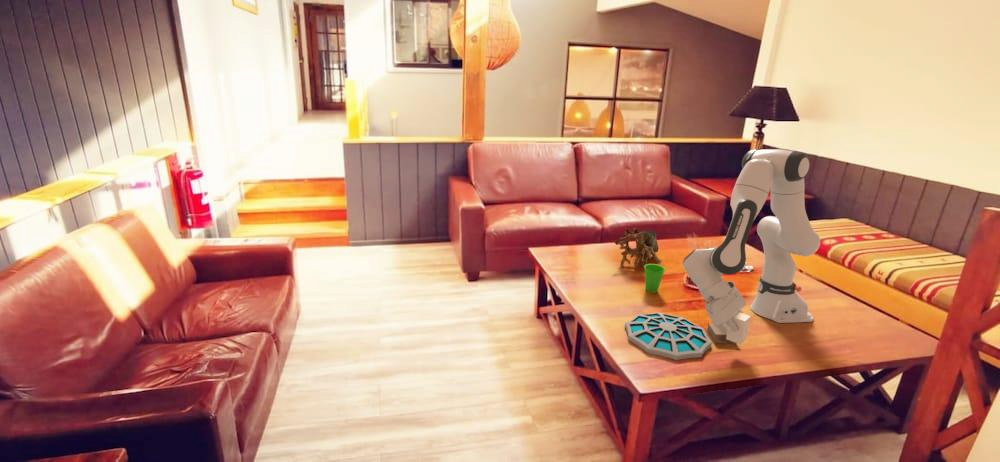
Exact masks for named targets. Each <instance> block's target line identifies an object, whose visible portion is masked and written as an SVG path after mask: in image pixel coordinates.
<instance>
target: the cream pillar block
mask: <svg viewBox="0 0 1000 462" xmlns="http://www.w3.org/2000/svg"><path fill="white" fill-rule="evenodd" d="M751 319H752V318H751V315H749V314H746V313H743V312H742V313H740V312H737V313H736V314H735V315H734V316H733V317H732V318H731V320H732V322H733V323H734V324H735V325H737V326H738V327H739V330H738V331H736V332H733V331H732V329H731V328H730V327H728V331H727V336H726V339H727V340H730V341H733V342H735V343H737V344H738V345H742V344H744V342H745V341H746V340H747V337H748V333H749V332H748V331H749V328H750V322H751Z"/></svg>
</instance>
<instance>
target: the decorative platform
mask: <svg viewBox="0 0 1000 462" xmlns="http://www.w3.org/2000/svg"><path fill="white" fill-rule="evenodd" d="M624 328H625V330H626V333H627V334H626V335H627V340H628V342H631V344H634V345H636V346H638V348H640V349H642V350H643V351H644V352H645V353H646V354H649V355H653V356H654V355H655V356H659V357H664V358H668V359H670V360H674V361H679V360H685V359H686V360H687V359H697V358H702V357H703V355H704V354H705V352H707V350H709V349H710V348H711V347H712V344H713V341H711V338H709V337H708V334H707V333H706V330H705V328H703V327H701V326H699V325H697V324H695V323H693V322H692V321H691V320H688V319H686V318H685V317H683V316H682V317H681V316H676V315H670V314H666V313H663V312H653V313H652V312H651V313H642V314H641V313H636V315H635V316H634V317H632V318H631V319H630V320H628V321H626V322H625V323H624Z"/></svg>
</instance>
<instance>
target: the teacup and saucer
mask: <svg viewBox="0 0 1000 462" xmlns="http://www.w3.org/2000/svg"><path fill="white" fill-rule="evenodd" d="M752 270H754V267H753V266H752V265H747V261H746V262H745V265H744V267H743V269H742V270H741V271H740V272H741V273H749V272H751V271H752Z"/></svg>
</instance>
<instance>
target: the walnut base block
mask: <svg viewBox="0 0 1000 462" xmlns="http://www.w3.org/2000/svg"><path fill="white" fill-rule="evenodd" d="M706 331H707V335H709V337H710V340H712V343H716V344H718V343H719V344H730V345H731V344H732V345H737V344H738V343H735V342H733V341H730V340H727V339H726V336H727V331H728V326H727V325H726V324H723V325H721V326H718V327H717V326H715V325H714V324H713V322H712V323H711V322H708V324H707V330H706Z"/></svg>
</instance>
